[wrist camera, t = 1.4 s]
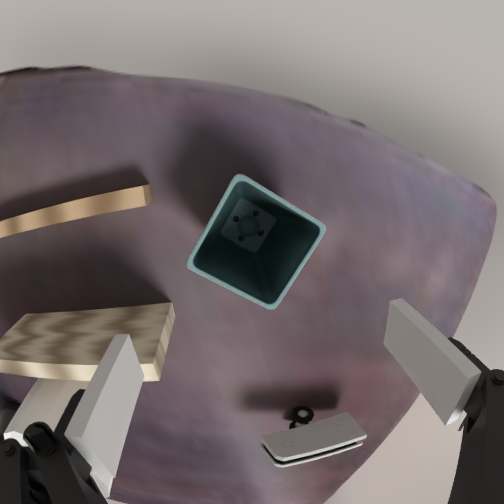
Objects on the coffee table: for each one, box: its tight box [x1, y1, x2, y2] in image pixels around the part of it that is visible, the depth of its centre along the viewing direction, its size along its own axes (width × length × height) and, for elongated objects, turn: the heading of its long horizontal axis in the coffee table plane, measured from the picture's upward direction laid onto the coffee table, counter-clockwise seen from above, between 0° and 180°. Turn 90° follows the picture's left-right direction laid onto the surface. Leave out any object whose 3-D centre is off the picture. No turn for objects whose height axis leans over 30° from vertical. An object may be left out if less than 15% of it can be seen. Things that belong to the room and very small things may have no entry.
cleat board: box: [0, 184, 175, 381], centre depth 25 cm, size 24×16×12 cm, turn 96°
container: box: [4, 378, 113, 498], centre depth 28 cm, size 14×14×18 cm
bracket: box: [259, 407, 367, 467], centre depth 37 cm, size 4×10×15 cm
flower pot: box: [186, 174, 326, 310], centre depth 28 cm, size 9×9×9 cm
